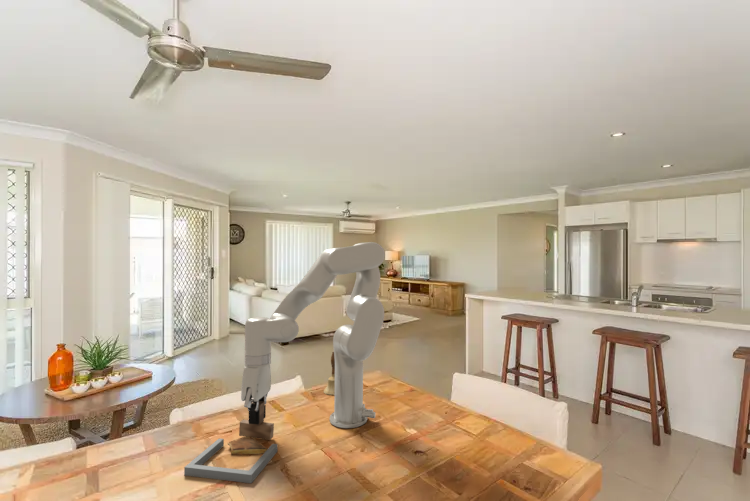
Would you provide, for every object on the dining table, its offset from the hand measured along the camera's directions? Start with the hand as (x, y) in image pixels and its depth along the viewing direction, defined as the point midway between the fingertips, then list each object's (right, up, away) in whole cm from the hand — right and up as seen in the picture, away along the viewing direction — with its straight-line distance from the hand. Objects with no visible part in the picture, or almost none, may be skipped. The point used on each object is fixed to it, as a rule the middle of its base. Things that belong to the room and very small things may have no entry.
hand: (257, 420), depth 107 cm
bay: (-2, -5, -13) cm, 14 cm away
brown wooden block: (0, -5, 0) cm, 5 cm away
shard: (-1, -6, -5) cm, 7 cm away
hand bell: (+19, -7, +39) cm, 43 cm away
